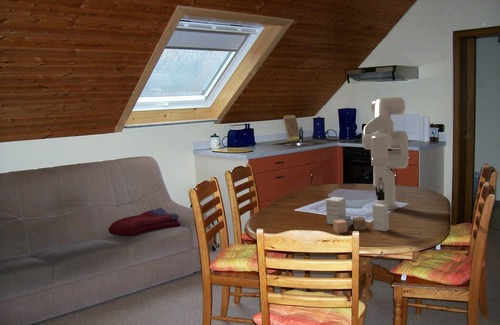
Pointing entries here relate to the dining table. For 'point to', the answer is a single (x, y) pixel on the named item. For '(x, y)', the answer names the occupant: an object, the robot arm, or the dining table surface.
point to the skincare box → (380, 217)
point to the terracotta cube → (340, 226)
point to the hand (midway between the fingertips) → (380, 197)
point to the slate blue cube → (346, 218)
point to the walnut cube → (359, 223)
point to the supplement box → (335, 208)
